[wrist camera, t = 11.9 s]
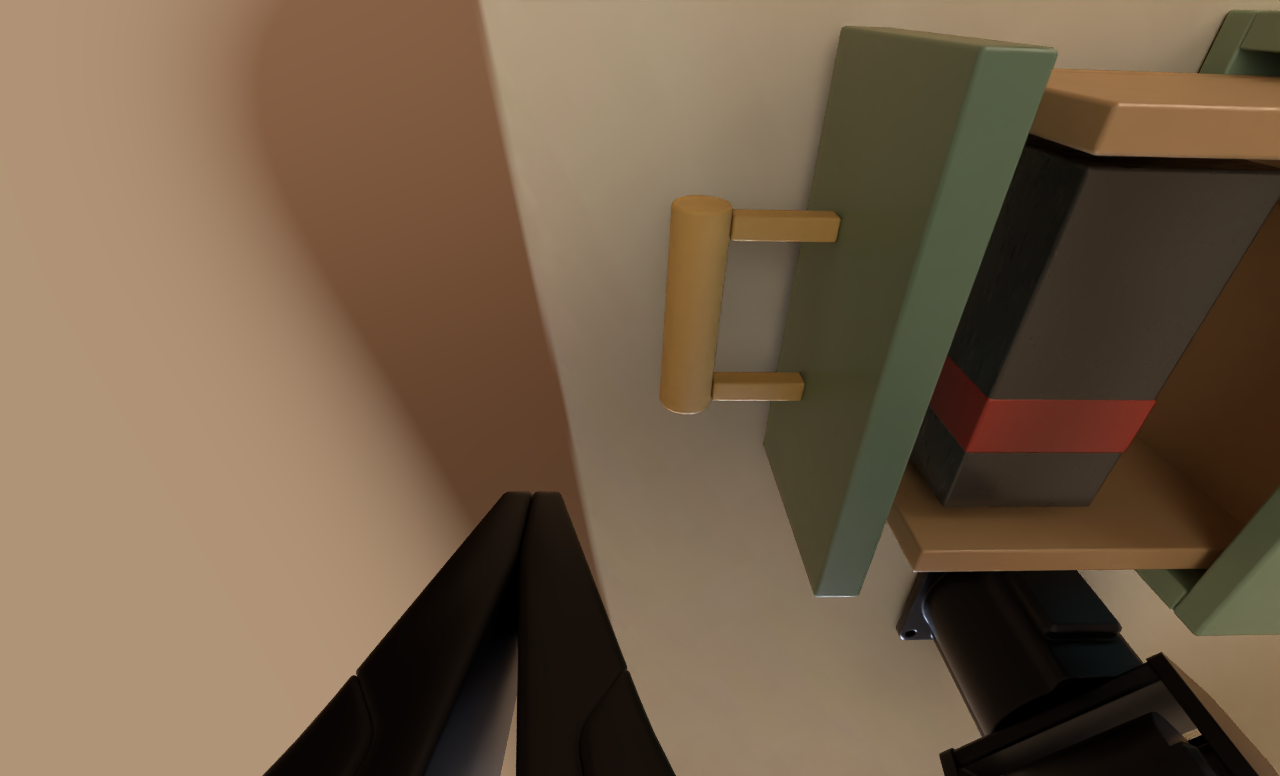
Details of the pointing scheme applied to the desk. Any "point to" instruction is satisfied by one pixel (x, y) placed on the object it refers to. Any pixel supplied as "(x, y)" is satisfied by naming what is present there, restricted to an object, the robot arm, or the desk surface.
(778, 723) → the desk surface
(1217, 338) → the drawer
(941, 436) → the black red-striped block
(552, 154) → the desk surface
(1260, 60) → the cabinet
